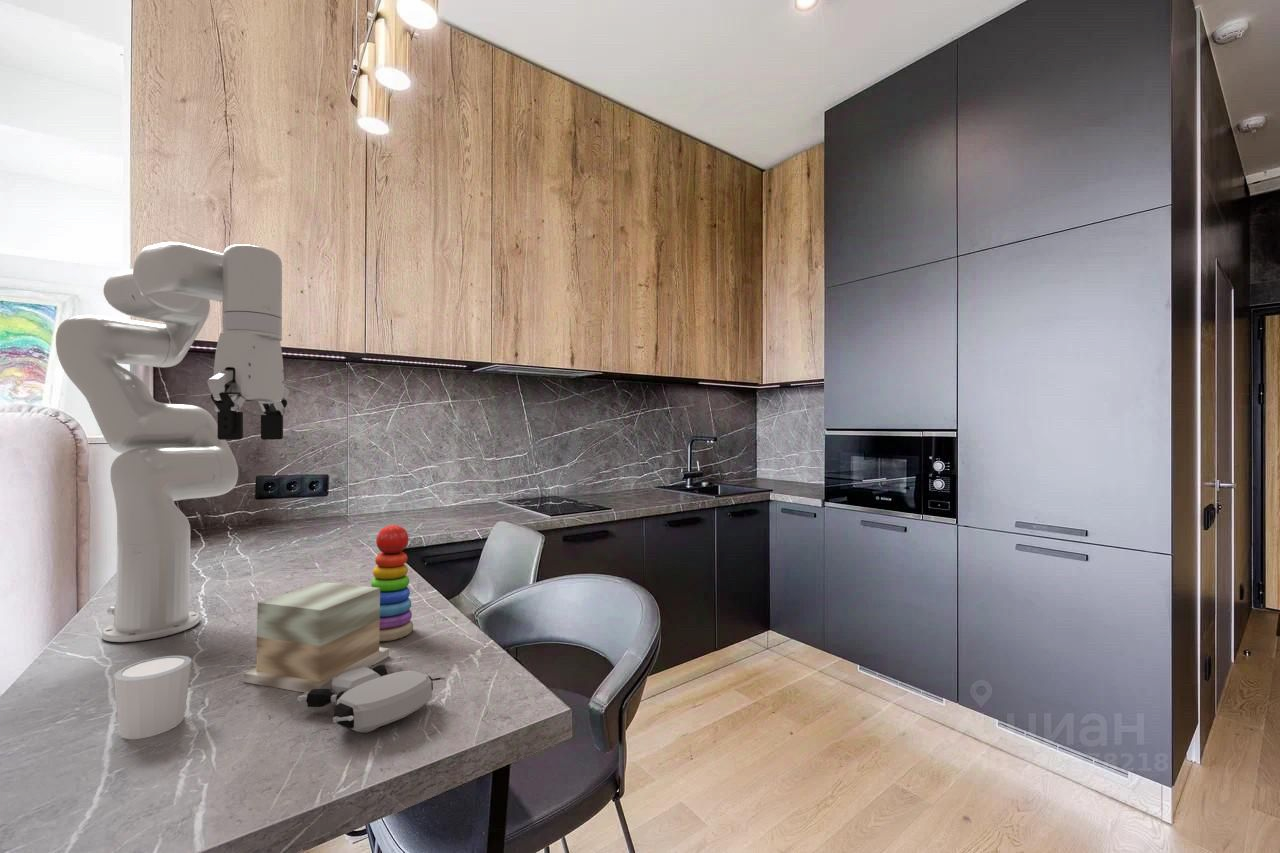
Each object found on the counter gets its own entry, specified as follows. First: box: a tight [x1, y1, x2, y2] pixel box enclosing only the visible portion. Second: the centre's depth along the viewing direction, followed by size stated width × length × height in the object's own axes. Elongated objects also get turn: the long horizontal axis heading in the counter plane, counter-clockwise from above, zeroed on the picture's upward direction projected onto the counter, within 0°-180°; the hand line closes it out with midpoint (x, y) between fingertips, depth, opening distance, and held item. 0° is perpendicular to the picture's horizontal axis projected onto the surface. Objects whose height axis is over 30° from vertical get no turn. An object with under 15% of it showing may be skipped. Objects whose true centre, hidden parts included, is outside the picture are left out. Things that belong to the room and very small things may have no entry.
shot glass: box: [113, 655, 193, 740], centre depth 64 cm, size 7×7×7 cm
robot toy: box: [296, 664, 448, 734], centre depth 68 cm, size 12×4×15 cm
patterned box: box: [243, 581, 390, 694], centre depth 80 cm, size 13×13×11 cm
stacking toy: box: [370, 524, 414, 642], centre depth 93 cm, size 8×8×19 cm
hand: (252, 439), depth 84 cm, fingers open, 9 cm apart
